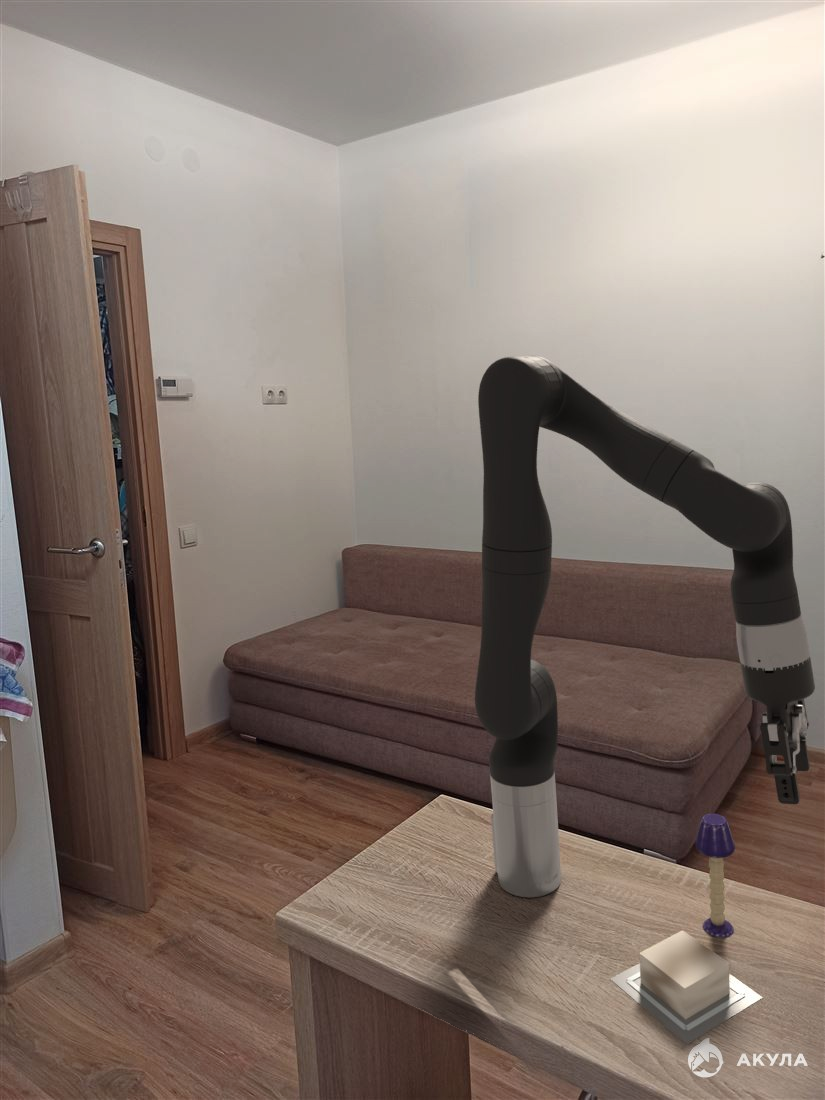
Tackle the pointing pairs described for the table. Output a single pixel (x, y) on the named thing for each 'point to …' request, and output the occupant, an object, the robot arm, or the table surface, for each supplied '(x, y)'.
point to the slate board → (698, 1022)
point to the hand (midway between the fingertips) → (795, 785)
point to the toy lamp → (716, 869)
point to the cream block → (684, 974)
